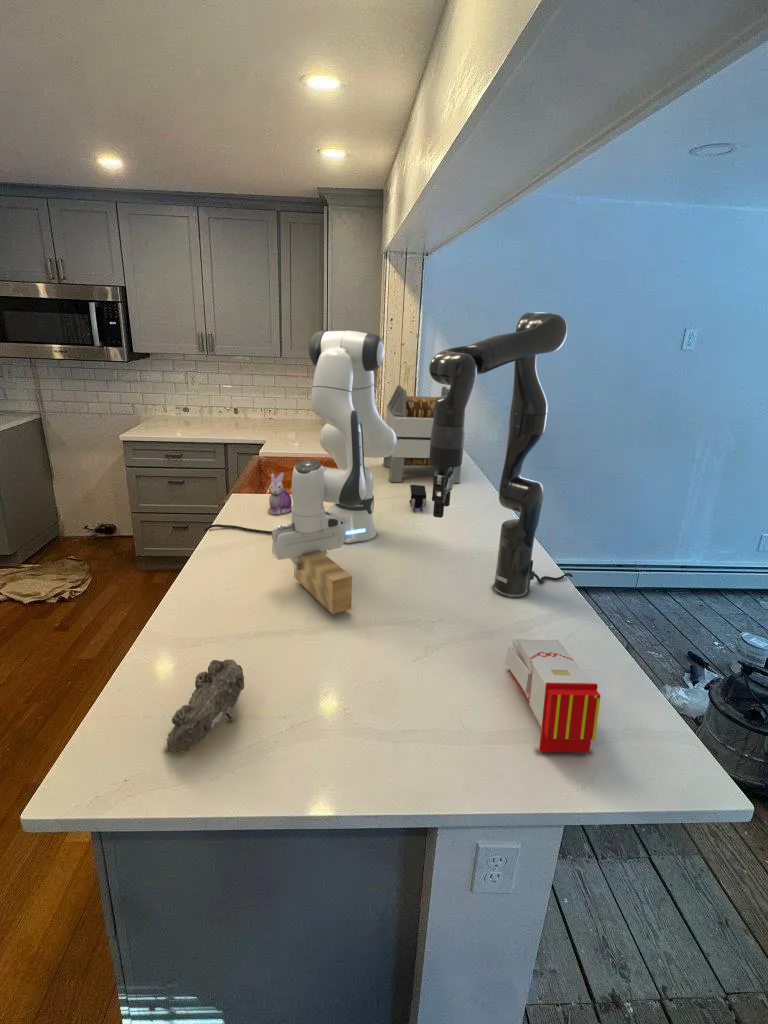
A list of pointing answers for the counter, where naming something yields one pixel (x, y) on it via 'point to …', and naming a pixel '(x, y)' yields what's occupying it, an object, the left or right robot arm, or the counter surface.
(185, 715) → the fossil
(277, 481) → the figurine
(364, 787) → the counter surface
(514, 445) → the right robot arm
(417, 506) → the figurine character
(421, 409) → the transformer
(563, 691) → the toy
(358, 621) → the counter surface
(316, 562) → the bar
